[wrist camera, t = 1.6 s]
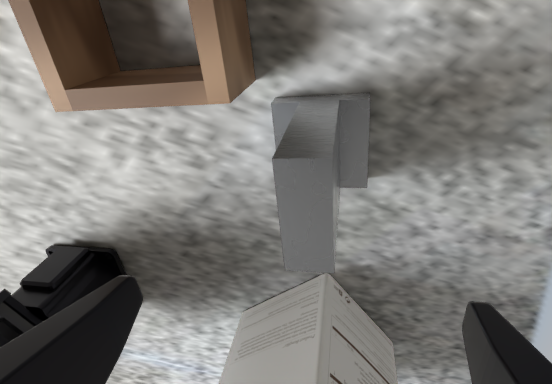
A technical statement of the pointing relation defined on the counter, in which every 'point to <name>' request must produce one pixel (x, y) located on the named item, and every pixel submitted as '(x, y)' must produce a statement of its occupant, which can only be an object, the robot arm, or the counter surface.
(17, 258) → the counter surface
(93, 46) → the square frame
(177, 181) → the counter surface
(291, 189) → the bracket
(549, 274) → the counter surface
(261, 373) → the supplement box
